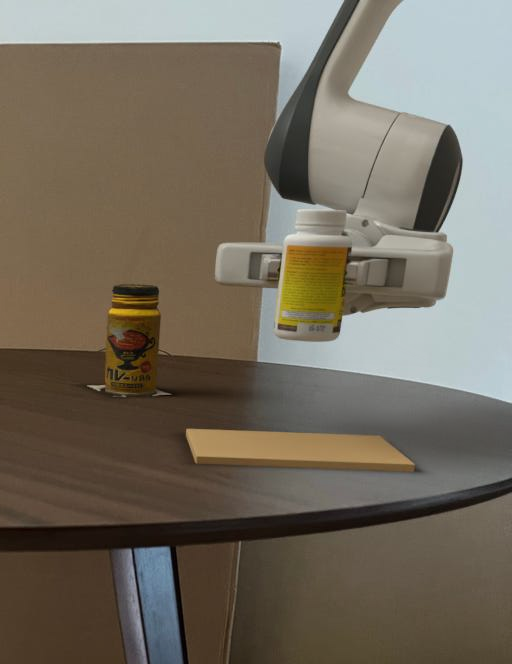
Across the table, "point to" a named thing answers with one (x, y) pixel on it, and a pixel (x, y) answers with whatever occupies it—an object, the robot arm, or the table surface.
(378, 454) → the wooden board
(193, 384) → the table surface
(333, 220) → the supplement bottle
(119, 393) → the condiment
